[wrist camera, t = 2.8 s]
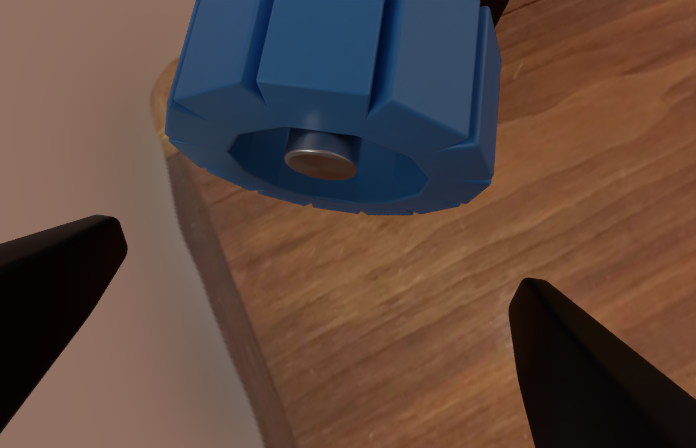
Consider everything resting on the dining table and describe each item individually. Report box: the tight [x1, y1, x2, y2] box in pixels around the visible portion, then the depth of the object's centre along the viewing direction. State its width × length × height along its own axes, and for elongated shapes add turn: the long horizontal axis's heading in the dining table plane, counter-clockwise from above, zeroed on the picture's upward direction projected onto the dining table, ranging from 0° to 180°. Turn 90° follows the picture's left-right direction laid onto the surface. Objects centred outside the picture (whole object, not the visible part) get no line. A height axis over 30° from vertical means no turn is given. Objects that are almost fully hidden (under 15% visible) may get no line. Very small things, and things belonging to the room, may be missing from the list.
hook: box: [285, 0, 509, 180], centre depth 14 cm, size 10×8×16 cm
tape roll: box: [165, 0, 501, 215], centre depth 8 cm, size 3×7×7 cm, turn 81°
